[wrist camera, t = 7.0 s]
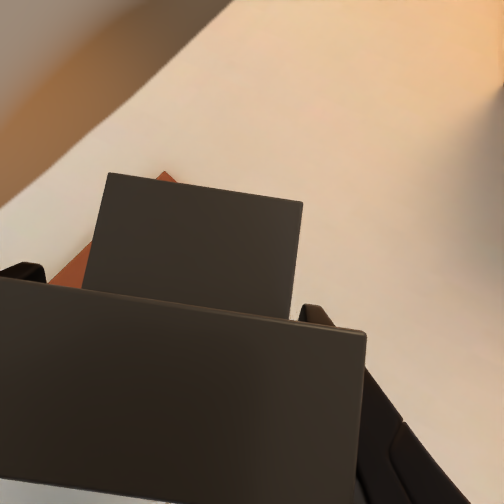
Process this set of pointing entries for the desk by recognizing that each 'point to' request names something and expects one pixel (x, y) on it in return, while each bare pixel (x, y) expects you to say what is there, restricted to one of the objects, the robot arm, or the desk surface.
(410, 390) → the desk surface
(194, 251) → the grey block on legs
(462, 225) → the desk surface
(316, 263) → the desk surface
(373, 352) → the desk surface
